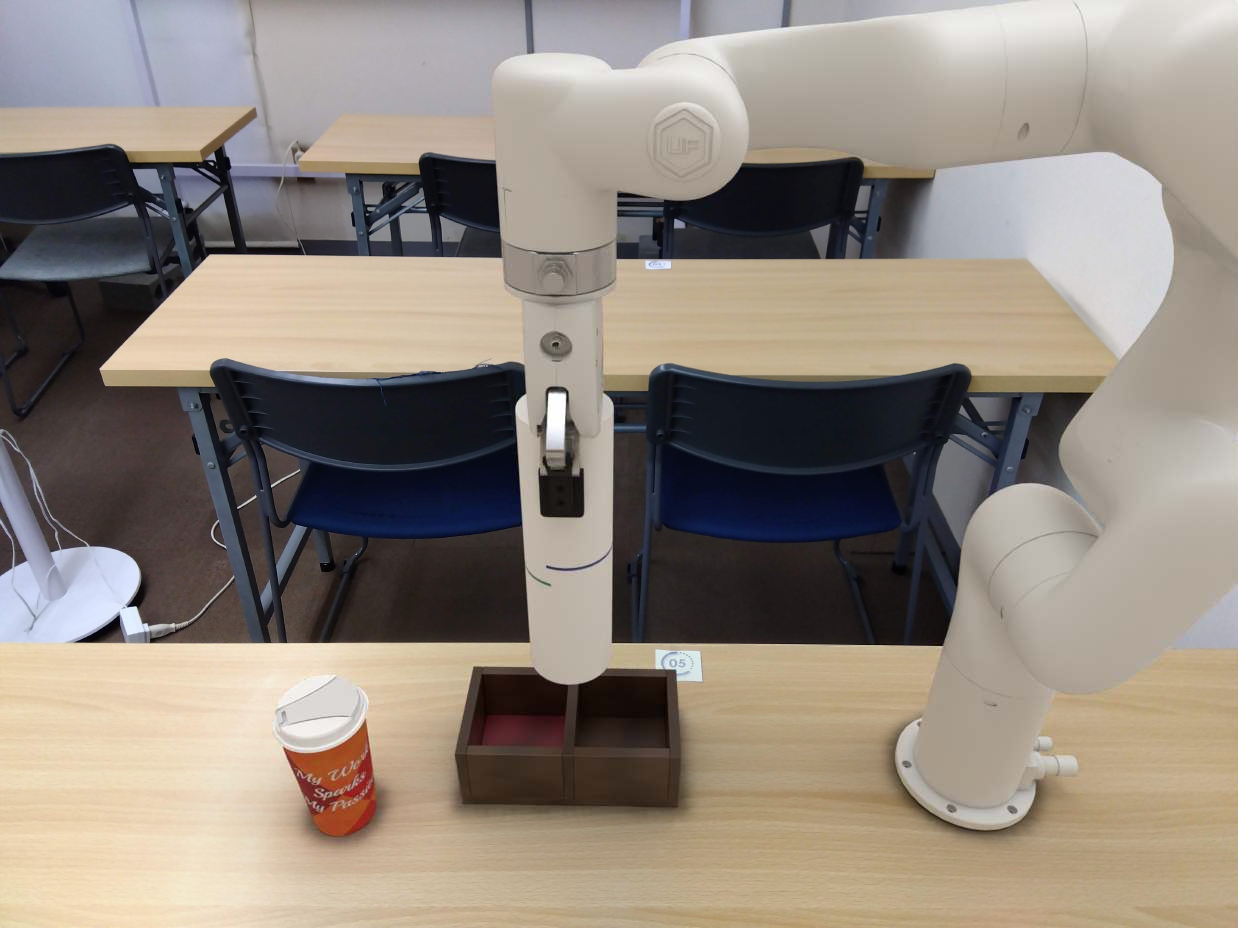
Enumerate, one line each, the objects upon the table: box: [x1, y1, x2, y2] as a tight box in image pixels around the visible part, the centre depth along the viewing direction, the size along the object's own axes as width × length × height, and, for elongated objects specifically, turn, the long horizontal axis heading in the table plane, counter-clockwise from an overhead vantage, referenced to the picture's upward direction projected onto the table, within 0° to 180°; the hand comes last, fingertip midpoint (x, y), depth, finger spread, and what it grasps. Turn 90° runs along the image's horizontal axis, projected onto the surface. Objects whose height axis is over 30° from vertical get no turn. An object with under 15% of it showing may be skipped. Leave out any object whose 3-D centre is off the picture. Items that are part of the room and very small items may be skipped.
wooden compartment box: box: [454, 665, 682, 808], centre depth 82 cm, size 20×10×7 cm, turn 89°
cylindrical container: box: [515, 392, 615, 685], centre depth 69 cm, size 7×7×25 cm
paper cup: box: [271, 674, 378, 837], centre depth 75 cm, size 8×8×14 cm
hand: (566, 483), depth 66 cm, fingers closed on cylindrical container, 7 cm apart
